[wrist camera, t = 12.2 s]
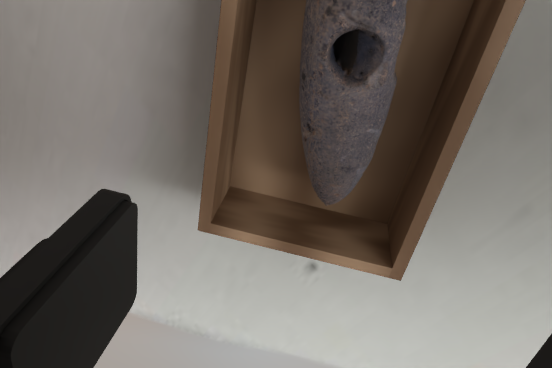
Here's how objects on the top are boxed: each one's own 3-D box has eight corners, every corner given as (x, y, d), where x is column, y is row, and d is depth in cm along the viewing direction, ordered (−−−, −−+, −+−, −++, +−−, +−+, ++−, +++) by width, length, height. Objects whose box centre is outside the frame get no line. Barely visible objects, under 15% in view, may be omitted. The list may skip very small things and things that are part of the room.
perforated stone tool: (366, 183, 30) (369, 242, 24) (293, 173, 30) (277, 228, 24) (417, -61, 22) (439, -65, 16) (318, -69, 23) (305, -75, 17)
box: (530, -111, 21) (583, -129, 16) (393, 230, 32) (400, 280, 27) (266, -163, 22) (241, -195, 17) (220, 188, 33) (197, 230, 28)
